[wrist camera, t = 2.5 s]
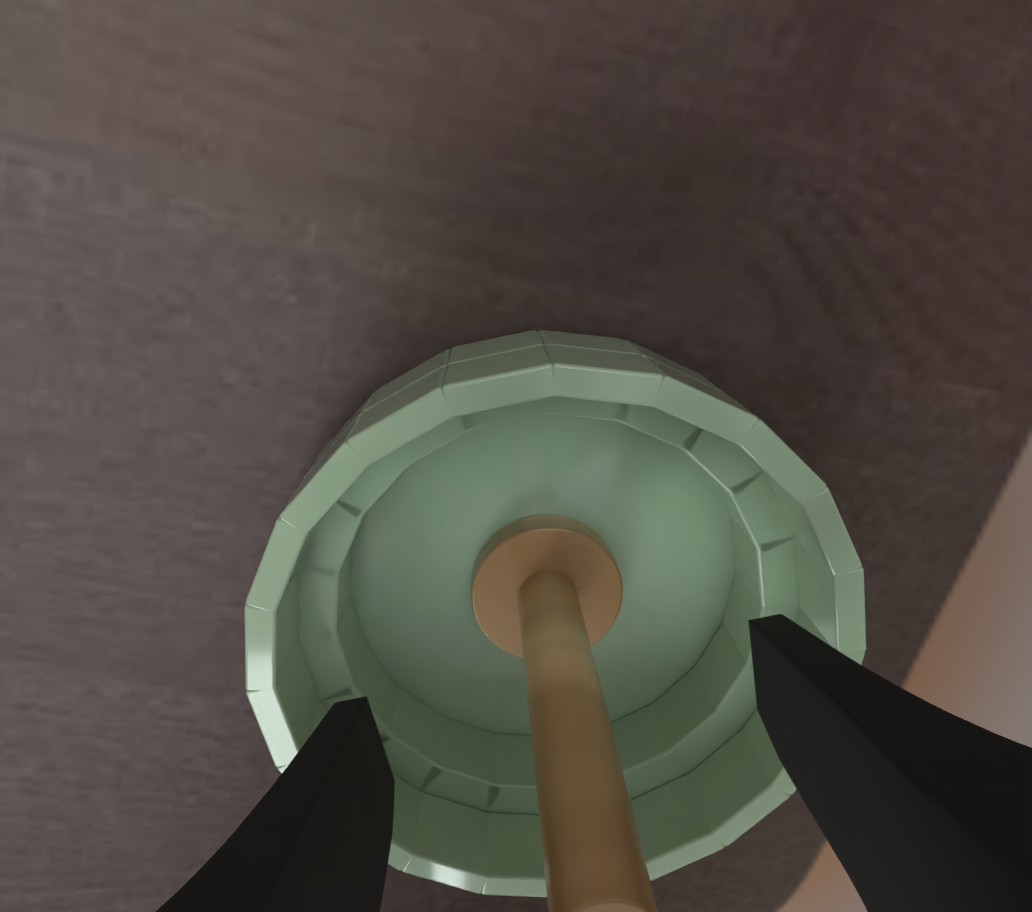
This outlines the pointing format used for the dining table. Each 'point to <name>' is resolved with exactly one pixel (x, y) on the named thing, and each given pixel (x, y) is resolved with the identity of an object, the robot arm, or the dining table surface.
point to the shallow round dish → (617, 655)
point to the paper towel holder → (566, 704)
